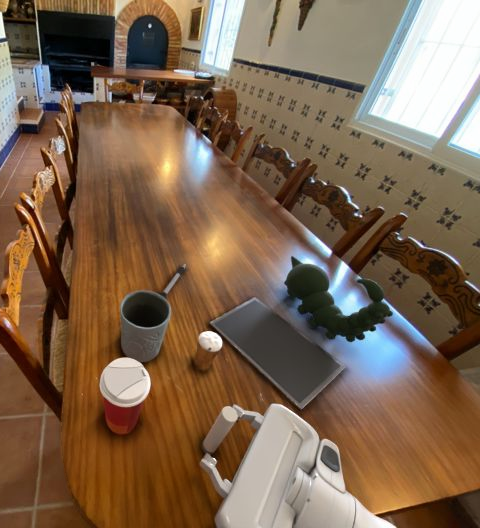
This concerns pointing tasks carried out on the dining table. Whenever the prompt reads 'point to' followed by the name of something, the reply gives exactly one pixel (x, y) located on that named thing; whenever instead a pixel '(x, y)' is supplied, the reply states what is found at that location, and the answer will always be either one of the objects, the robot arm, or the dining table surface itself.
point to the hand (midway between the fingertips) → (217, 432)
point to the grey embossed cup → (143, 324)
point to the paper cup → (124, 393)
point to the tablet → (278, 351)
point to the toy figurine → (322, 303)
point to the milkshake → (207, 350)
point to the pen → (173, 281)
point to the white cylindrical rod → (219, 429)
